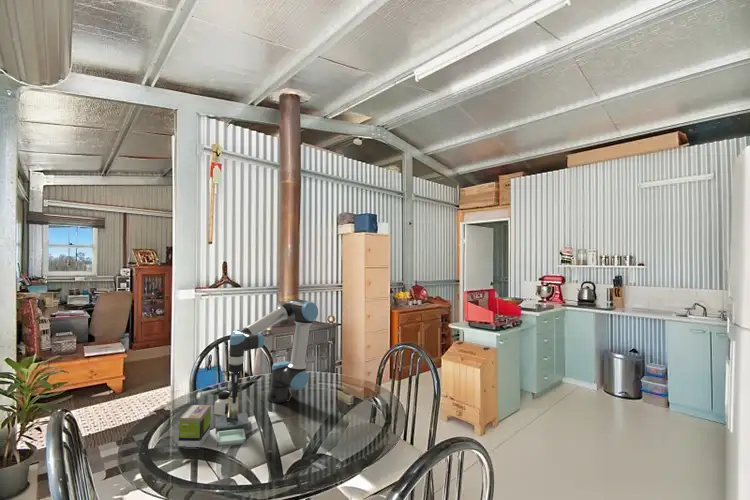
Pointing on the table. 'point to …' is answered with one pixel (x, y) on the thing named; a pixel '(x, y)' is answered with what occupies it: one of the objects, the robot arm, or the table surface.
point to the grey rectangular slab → (232, 422)
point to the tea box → (194, 426)
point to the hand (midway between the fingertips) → (233, 406)
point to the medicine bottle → (222, 403)
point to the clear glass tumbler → (233, 412)
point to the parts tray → (230, 437)
